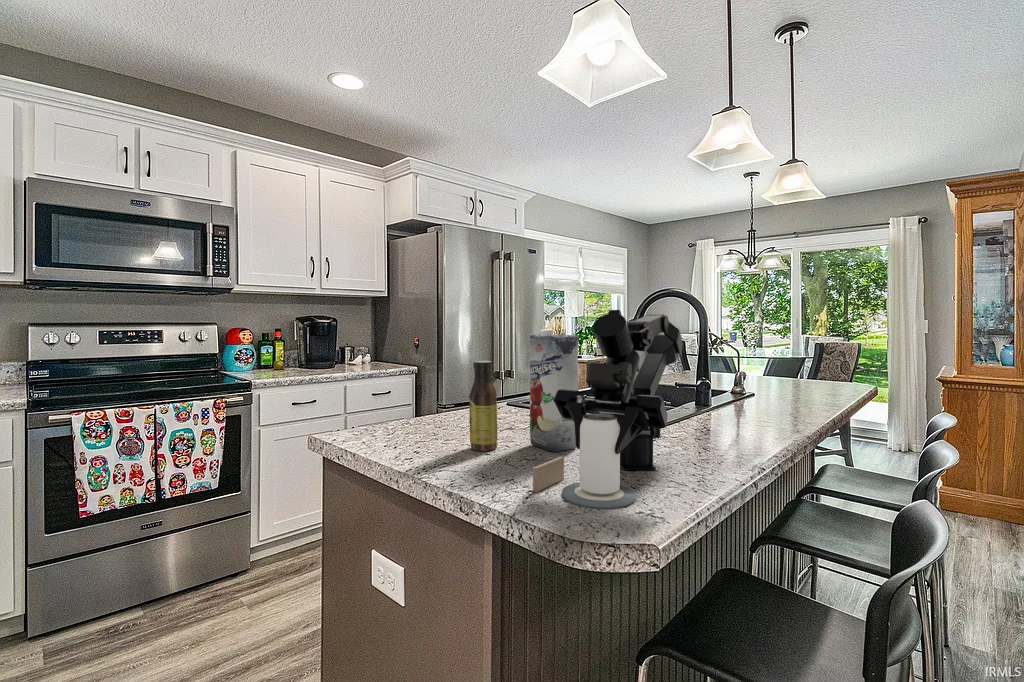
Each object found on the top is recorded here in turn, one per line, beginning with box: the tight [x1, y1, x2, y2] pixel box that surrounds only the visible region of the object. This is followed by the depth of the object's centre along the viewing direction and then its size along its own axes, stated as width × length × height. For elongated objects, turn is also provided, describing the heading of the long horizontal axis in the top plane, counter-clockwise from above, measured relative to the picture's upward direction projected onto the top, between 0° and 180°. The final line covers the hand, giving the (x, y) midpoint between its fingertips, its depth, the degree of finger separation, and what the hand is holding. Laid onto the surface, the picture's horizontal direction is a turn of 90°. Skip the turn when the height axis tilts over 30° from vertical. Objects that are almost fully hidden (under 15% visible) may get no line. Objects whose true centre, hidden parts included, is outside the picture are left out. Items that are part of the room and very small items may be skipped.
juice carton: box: [529, 328, 580, 453], centre depth 119 cm, size 9×10×27 cm
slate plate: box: [561, 481, 637, 509], centre depth 86 cm, size 12×12×1 cm
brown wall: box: [532, 456, 565, 493], centre depth 91 cm, size 9×1×4 cm, turn 144°
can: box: [579, 413, 621, 495], centre depth 86 cm, size 6×6×12 cm
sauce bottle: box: [468, 360, 499, 452], centre depth 117 cm, size 6×6×20 cm
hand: (596, 450), depth 84 cm, fingers closed on can, 6 cm apart
